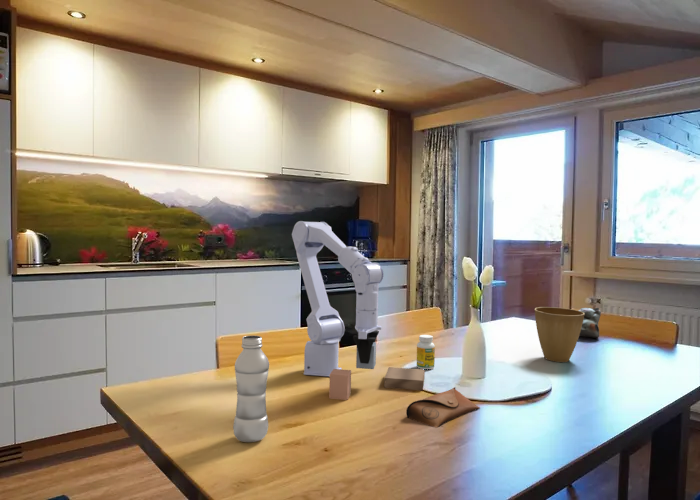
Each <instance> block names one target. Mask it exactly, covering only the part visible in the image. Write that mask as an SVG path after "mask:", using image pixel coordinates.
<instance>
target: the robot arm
mask: <svg viewBox="0 0 700 500" xmlns="http://www.w3.org/2000/svg"><path fill="white" fill-rule="evenodd" d="M291 237H292V241H293V244H294V249H295V251H296V257H297V260H298V265H299V268H300V271H301V275H302V279H303V283H304V288H305V291H306V295H307V298H308V301H309V304H310V308H311V312H310V313H309V314H308V316H307V318H306V319H305V320H306V324H307V328H306V330H307V331H306V332H307V335H308V338H309V339H310V340H308V341H306V343H305V347H304V354H303V355H304V359H303V360H304V361H303V362H304V363H303V364H304V366H303V369H304V370H303V371H304V372H303V375H305V376H317V377H319V376H320V377H329V378H330V373H331V372H332V370H333V369H341V370H343V369H342V367H339V342H341V339H342V337H343V336H344V335H345V331H346V329H345V323H344V320H342V318H341V316H340V314H339V311H338V310H336V309H335V308H333V307H332V306H331V303H330V302H329V297H328V294H327V290H326V286H325V283H324V280H323V275H322V272H321V269H320V266H319V262H318V258H317V255H318V253H319V252H320V251H322V249H323V247H324V246H325V247H326V248H328V250H330V251H331V252H333V253H334V254H335V256H337V259H338V260H337V262H338V263H339V264H340V265H341V266H342V267H343V268H344V269H346V270H347V272H349V273H350V274H351V278H352V281H353V283H354V290H355V292H356V295H355V296H356V299H355V300H356V302H355V304H356V307H355V326H354V329H355V331H356V332H357V334H354V335H353V336H352V337H353V339H352V340H353V341H354V343H355V345H356V350H357V349H358V353H359V359H360V363H366V364H368V363H369V360H370V354H371V349H372V345H373V343H374V342H376V340H377V338H378V335H379V333H380V331H381V330H383V326H382V325H378V323H379V286H380V285H379V284H381V283H382V281H383V280H384V269H383V268H382V266H381V265H380V263H378V262H372V261H370V260H369V258H368V257H365V256H364V255H363V254H362V253H361V252H359V248H358V247H356V246H347V245H346V244H345V243H344V241H342V240H341V239H340V238H339V237H338V236H337V235H336V234H335V233H334V231H332V226H330V225H329V224H328V223H327V222H325V221H320V222H319V221H303V220H299V221H297V222H296V223H295V224H294V226H293V228H292V232H291Z"/></svg>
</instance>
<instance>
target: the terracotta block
mask: <svg viewBox="0 0 700 500" xmlns="http://www.w3.org/2000/svg"><path fill="white" fill-rule="evenodd" d="M328 390H329V392H328V393H329V396H328V397H329V400H330V399H331V400H332V399H333V400H342V401H343V400H344V401H345V400H346V401H347V400H349V398H350V396H351V394H352V369H333V370H332V372H331V373H330V377H329V389H328Z"/></svg>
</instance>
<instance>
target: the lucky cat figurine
mask: <svg viewBox="0 0 700 500" xmlns="http://www.w3.org/2000/svg"><path fill="white" fill-rule="evenodd" d="M577 311H581V312H583V313H584V319H583V323H582V328H581V331H580V335H579V337H588V338H592V339H595V340H597V339H599V338H600V327H599V322H600V318H601V315H602V311H601V310H600V309H599V307H595V308H590V307H582V308H580V309H577Z"/></svg>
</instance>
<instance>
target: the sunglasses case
mask: <svg viewBox="0 0 700 500" xmlns="http://www.w3.org/2000/svg"><path fill="white" fill-rule="evenodd" d="M479 409H481V407H480V406H478V405H476V404H475V403H473V401H471V400H470V399H469V398H467V396H465V395H463V394H462V393H461V392H460V391H458V390H457V389H456V387H453V388H451V389H449V390H445V391H442V392H438V393H436V394H433V395H431V396H428V397H426V398H423V399H418V400H415V401H413V402H411V403H410V404H408V406H407V408H406V411H405V412H406V414H405V416H406V417H407V419H411V420H413V421H415V422H418V423H421V424H423V425H427V426H429V427H433V428H440V427H441V426H443V425H444V424H446V423H448V422H450V421H452V420H454V419H456V418H460V417H461V416H462V417H463V415H467V414H469V413H471V412H474V411H478V410H479Z"/></svg>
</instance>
